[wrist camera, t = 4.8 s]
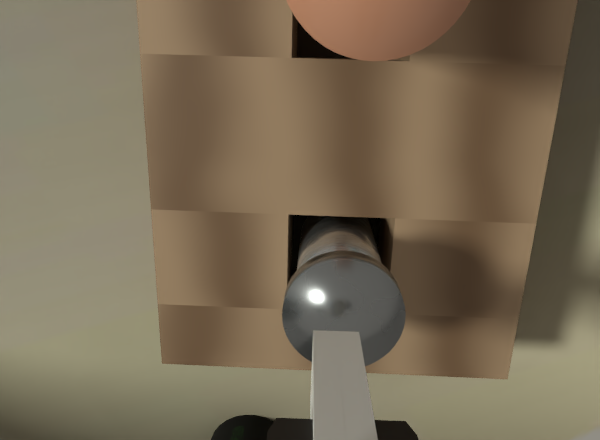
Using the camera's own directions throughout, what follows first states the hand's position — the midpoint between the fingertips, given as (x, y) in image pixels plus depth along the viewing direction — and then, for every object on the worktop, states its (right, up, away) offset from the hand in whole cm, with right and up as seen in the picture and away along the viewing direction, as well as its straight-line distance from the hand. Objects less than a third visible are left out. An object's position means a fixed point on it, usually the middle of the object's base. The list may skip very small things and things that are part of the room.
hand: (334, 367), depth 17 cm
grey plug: (+1, +4, +11) cm, 12 cm away
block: (+1, +10, +10) cm, 15 cm away
